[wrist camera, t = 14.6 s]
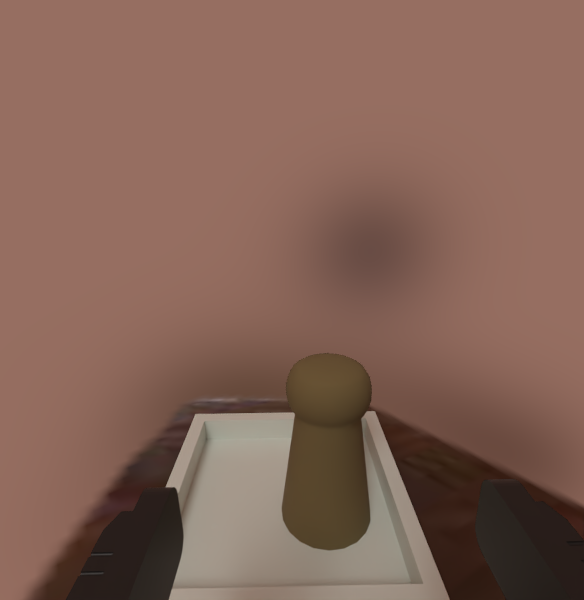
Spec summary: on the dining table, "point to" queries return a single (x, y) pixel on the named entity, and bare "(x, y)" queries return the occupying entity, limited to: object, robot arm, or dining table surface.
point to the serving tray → (272, 530)
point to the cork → (327, 452)
